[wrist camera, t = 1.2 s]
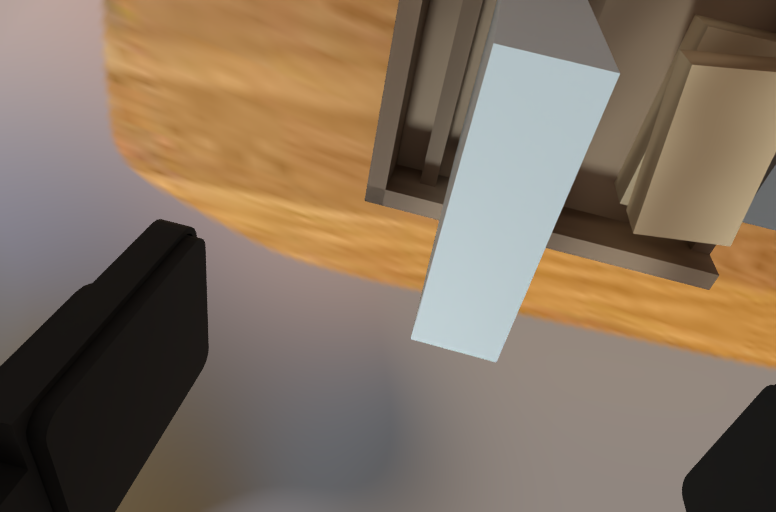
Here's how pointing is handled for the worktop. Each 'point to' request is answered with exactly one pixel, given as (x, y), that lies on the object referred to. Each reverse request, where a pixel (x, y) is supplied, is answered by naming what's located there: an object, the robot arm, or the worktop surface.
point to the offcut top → (707, 148)
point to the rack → (607, 148)
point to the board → (513, 168)
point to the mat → (764, 201)
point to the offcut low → (698, 38)
